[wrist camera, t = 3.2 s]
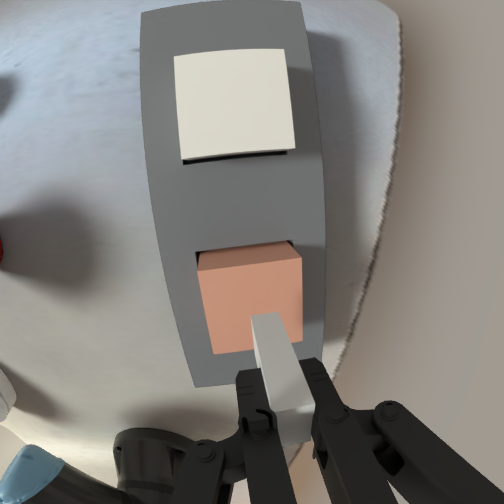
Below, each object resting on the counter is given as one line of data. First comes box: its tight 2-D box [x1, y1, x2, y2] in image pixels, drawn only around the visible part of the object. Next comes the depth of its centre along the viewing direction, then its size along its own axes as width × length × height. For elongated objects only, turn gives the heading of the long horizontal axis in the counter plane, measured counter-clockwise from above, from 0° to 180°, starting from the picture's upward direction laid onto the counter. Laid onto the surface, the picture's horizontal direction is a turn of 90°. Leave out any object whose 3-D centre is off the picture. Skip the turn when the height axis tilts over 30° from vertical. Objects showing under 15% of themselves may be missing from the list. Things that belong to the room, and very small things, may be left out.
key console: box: [140, 0, 326, 388], centre depth 21 cm, size 32×12×5 cm, turn 5°
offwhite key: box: [174, 49, 295, 161], centre depth 15 cm, size 6×6×4 cm
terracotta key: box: [197, 240, 303, 354], centre depth 19 cm, size 6×6×4 cm
